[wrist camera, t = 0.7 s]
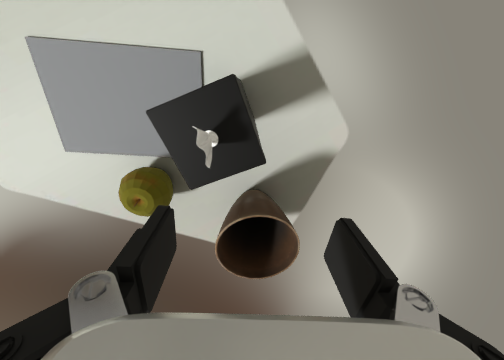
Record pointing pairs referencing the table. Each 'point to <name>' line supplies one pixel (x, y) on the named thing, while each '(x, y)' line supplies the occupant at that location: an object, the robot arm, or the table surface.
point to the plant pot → (256, 238)
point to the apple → (145, 190)
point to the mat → (111, 92)
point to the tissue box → (209, 132)
